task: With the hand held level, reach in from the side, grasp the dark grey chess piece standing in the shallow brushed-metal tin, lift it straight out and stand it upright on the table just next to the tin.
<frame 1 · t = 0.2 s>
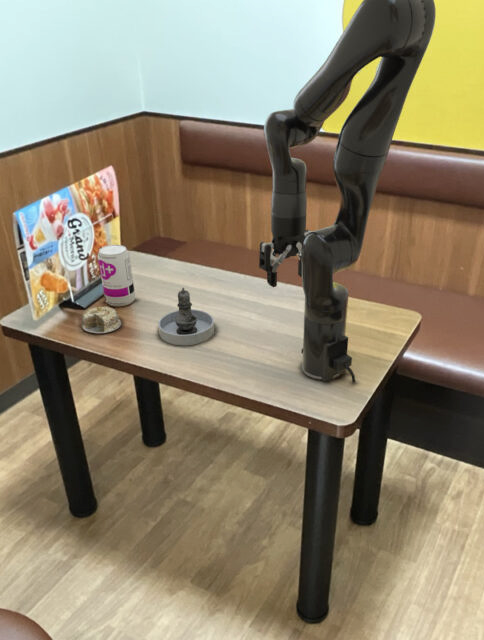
hand: (287, 281, 138), 17 cm above the table, tool pointing down, fingers open, 8 cm apart
cake: (101, 326, 157), on the table
supplement can: (120, 301, 168), on the table
tin: (187, 331, 154), on the table
dark grey chess piece: (187, 331, 154), resting on tin
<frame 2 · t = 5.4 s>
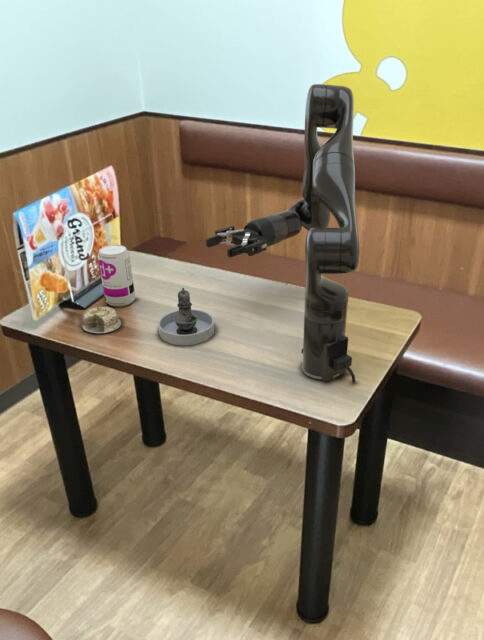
hand: (217, 248, 149), 19 cm above the table, tool horizontal, fingers open, 8 cm apart
nothing on the table moved.
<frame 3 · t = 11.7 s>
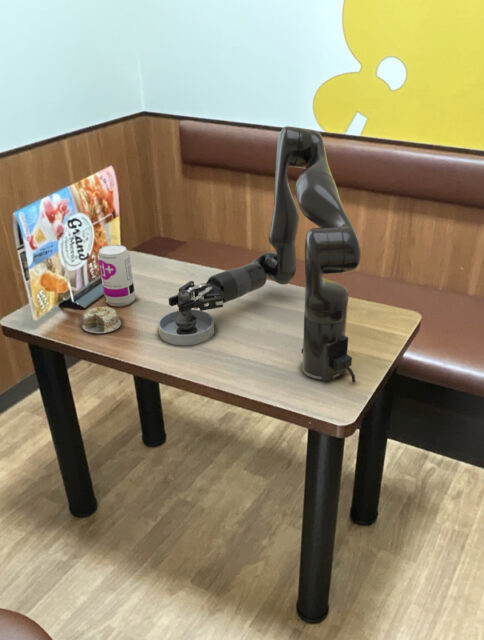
hand: (174, 305, 147), 8 cm above the table, tool horizontal, fingers closed on dark grey chess piece, 3 cm apart
dark grey chess piece: (187, 331, 154), resting on tin, touching gripper
everything else where it was.
when the fingers open (8 cm above the table, at t = 19.1 s): dark grey chess piece stays where it is, on the table.
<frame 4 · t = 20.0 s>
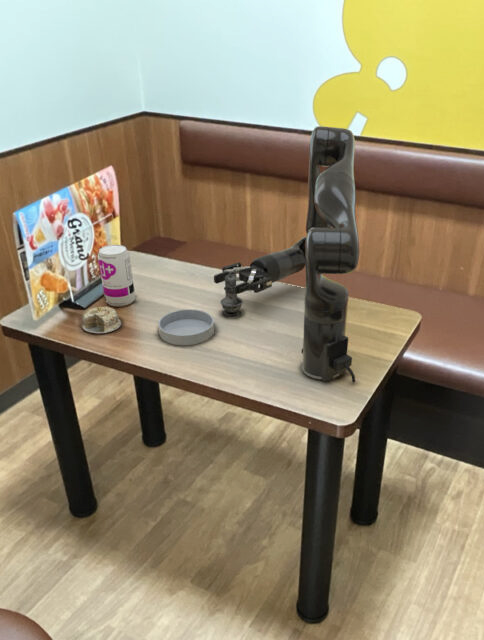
hand: (224, 285, 156), 9 cm above the table, tool horizontal, fingers open, 8 cm apart
dark grey chess piece: (232, 314, 162), on the table
everything else where it was.
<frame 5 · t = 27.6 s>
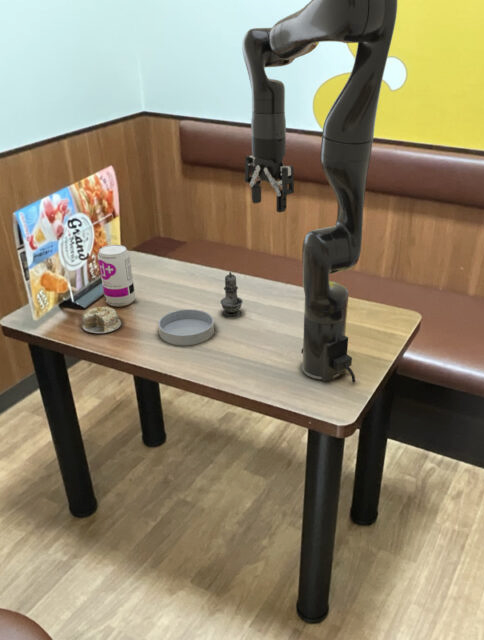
hand: (268, 207, 141), 30 cm above the table, tool pointing down, fingers open, 8 cm apart
nothing on the table moved.
at the end: dark grey chess piece inside the target area (0.2 cm from its centre), on the table; dark grey chess piece tilted 0°; the gripper is holding nothing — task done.
